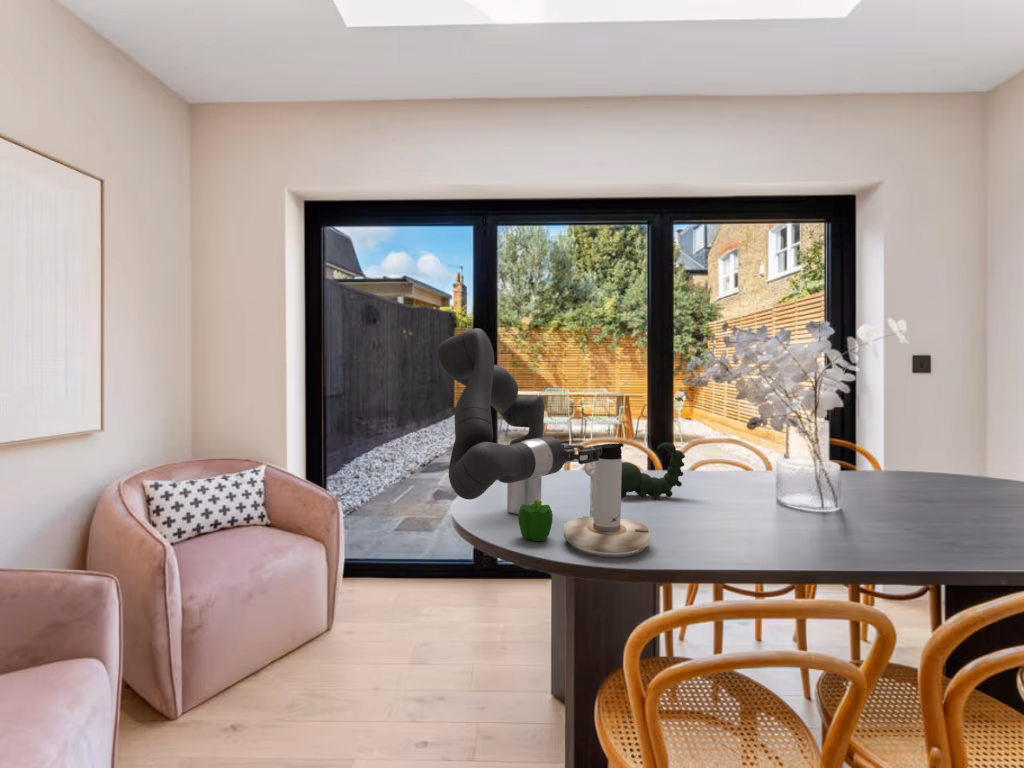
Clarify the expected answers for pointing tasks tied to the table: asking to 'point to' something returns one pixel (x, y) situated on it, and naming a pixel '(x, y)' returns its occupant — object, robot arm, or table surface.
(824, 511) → the table surface
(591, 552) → the turntable base
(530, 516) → the bell pepper
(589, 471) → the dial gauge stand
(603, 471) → the travel mug
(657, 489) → the toy figurine
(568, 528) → the turntable platter
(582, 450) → the robot arm
